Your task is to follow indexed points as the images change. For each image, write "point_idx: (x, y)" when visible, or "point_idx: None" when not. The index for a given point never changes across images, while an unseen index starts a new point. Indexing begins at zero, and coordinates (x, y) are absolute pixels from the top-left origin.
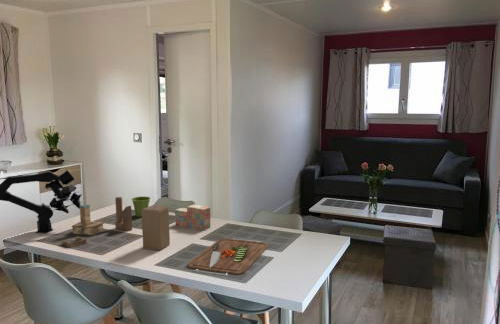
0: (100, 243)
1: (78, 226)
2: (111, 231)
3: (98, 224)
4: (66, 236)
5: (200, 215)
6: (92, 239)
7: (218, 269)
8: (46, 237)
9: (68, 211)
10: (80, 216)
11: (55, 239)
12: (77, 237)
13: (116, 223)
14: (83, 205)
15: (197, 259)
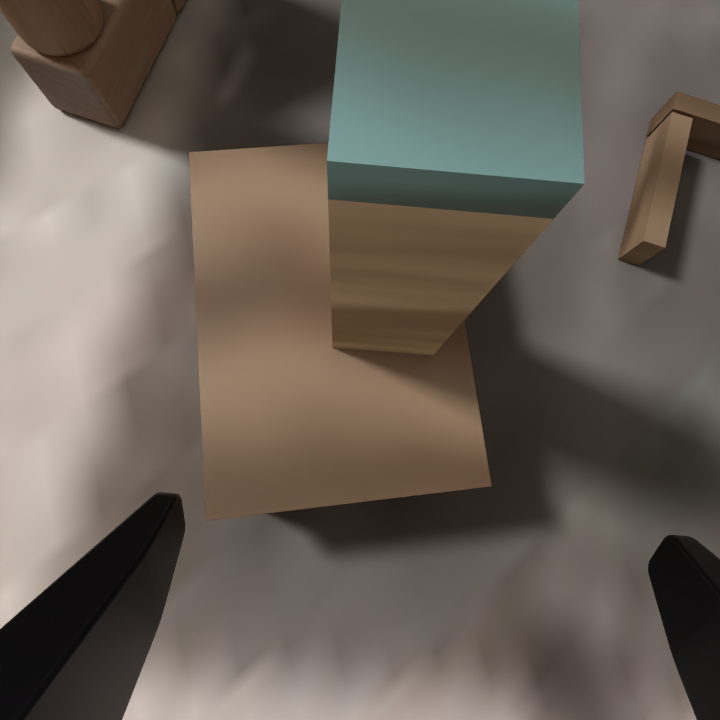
0: (603, 4)
1: (471, 367)
2: (244, 108)
3: (307, 154)
4: (563, 476)
5: None
6: None
7: None
8: (692, 709)
9: (689, 547)
10: (473, 304)
11: (699, 521)
12: (668, 215)
13: (104, 61)
14: (453, 112)
15: None
